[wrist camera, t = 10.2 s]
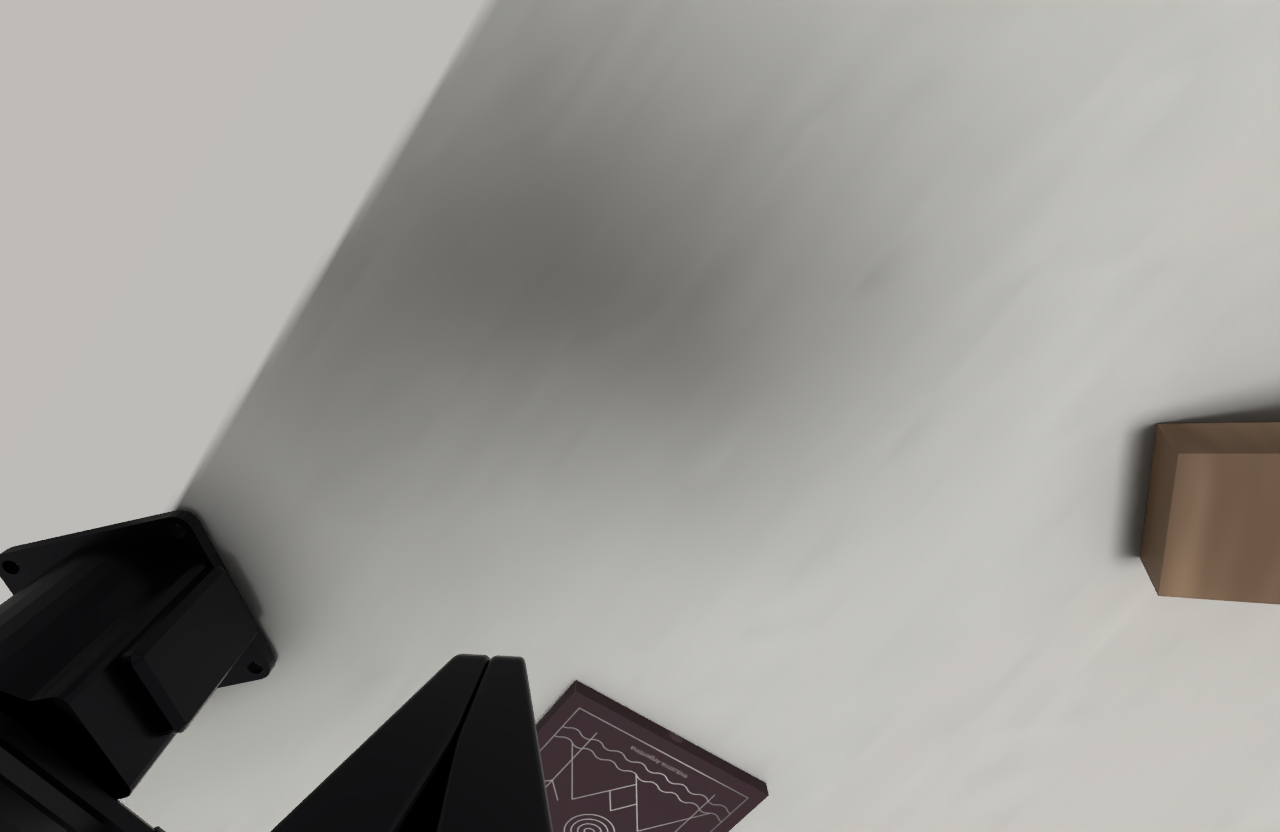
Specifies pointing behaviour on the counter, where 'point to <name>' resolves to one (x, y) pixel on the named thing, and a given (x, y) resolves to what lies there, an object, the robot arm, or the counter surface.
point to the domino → (1214, 512)
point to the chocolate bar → (634, 772)
